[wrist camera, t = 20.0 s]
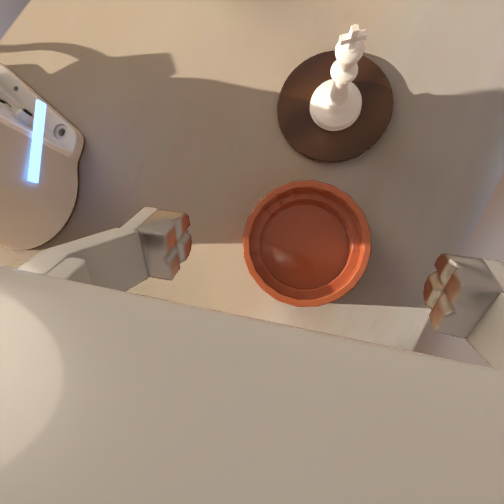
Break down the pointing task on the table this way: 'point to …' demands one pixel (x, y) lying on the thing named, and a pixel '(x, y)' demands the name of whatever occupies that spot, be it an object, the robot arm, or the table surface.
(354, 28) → the chess piece
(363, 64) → the coaster
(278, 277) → the dish
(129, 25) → the table surface
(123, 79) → the table surface
